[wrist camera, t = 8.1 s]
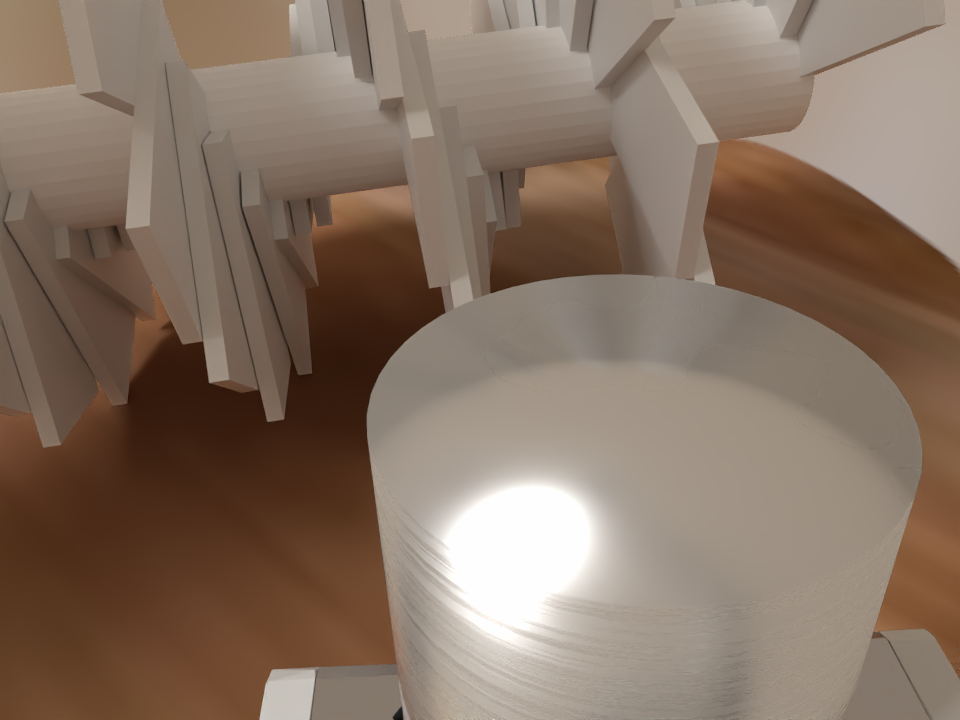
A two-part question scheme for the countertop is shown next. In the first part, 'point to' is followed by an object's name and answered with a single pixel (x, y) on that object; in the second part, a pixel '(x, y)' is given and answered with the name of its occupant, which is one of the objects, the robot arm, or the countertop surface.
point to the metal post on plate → (635, 505)
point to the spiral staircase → (364, 162)
